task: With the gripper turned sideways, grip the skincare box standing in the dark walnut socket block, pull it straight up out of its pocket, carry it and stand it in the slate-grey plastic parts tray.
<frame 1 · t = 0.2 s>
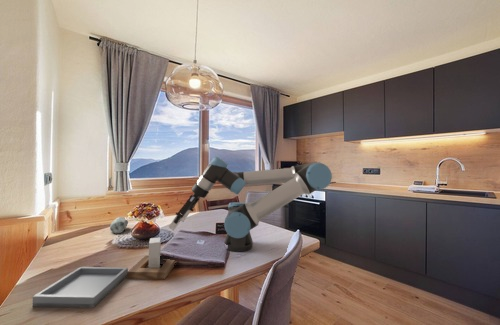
hand: (176, 224, 99), 15 cm above the table, fingers open, 13 cm apart
skincare box: (154, 270, 86), resting in socket block
socket block: (154, 269, 86), on the table
parts tray: (86, 289, 72), on the table
grey-green mottled ovoid: (118, 231, 132), on the table
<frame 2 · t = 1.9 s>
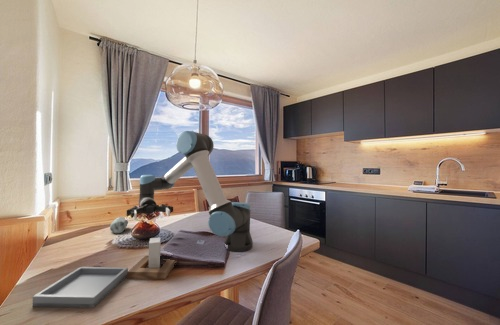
hand: (153, 214, 95), 20 cm above the table, fingers open, 13 cm apart
nothing on the table moved.
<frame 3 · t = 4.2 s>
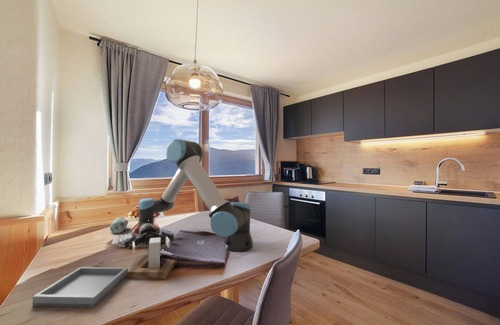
hand: (152, 247, 90), 7 cm above the table, fingers open, 13 cm apart
nothing on the table moved.
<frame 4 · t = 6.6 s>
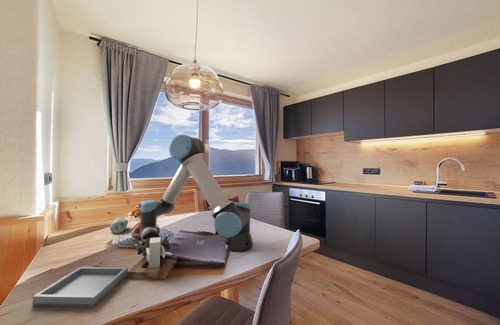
hand: (156, 255, 82), 8 cm above the table, fingers closed on skincare box, 5 cm apart
skincare box: (154, 269, 86), resting in socket block, touching gripper
everything else where it was.
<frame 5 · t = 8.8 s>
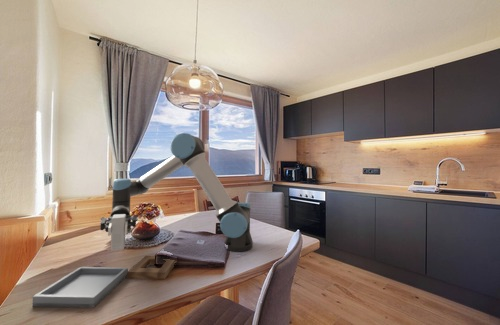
hand: (117, 230, 76), 19 cm above the table, fingers closed on skincare box, 4 cm apart
skincare box: (117, 248, 80), point 11 cm above the table, touching gripper
everything else where it was.
when the fingers open (10 cm above the table, at t = 11.2 s): skincare box stays where it is, resting on parts tray.
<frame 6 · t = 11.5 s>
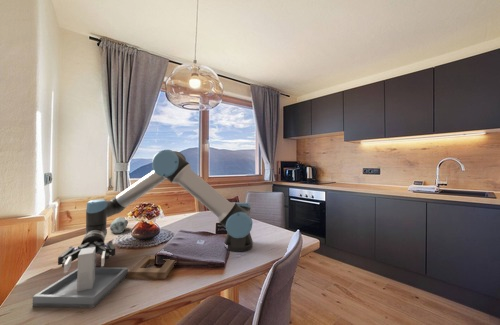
hand: (84, 265, 68), 10 cm above the table, fingers open, 9 cm apart
skincare box: (86, 286, 72), point 1 cm above the table, touching parts tray
everything else where it was.
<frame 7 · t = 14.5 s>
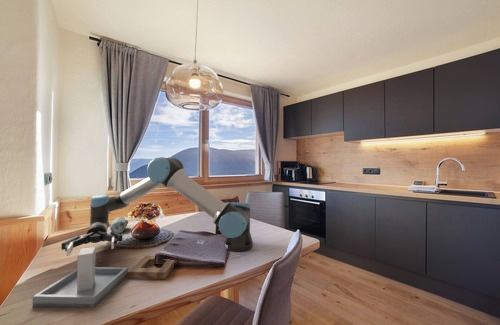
hand: (91, 248, 81), 10 cm above the table, fingers open, 13 cm apart
nothing on the table moved.
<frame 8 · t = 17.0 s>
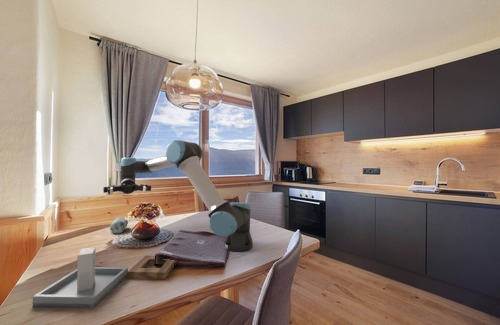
hand: (128, 191, 98), 30 cm above the table, fingers open, 13 cm apart
nothing on the table moved.
at the end: skincare box inside the target area on the parts tray (0.1 cm from its centre), point 0.8 cm above the parts tray's base; skincare box tilted 0°; the gripper is holding nothing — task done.
